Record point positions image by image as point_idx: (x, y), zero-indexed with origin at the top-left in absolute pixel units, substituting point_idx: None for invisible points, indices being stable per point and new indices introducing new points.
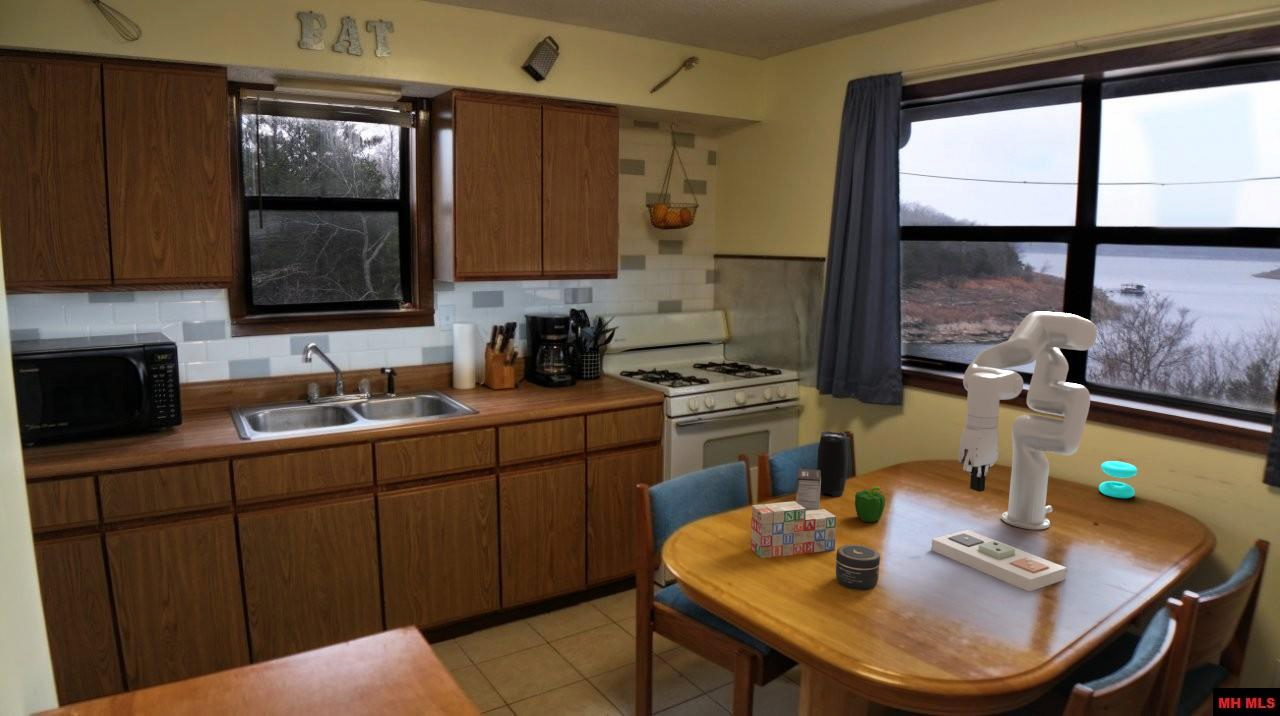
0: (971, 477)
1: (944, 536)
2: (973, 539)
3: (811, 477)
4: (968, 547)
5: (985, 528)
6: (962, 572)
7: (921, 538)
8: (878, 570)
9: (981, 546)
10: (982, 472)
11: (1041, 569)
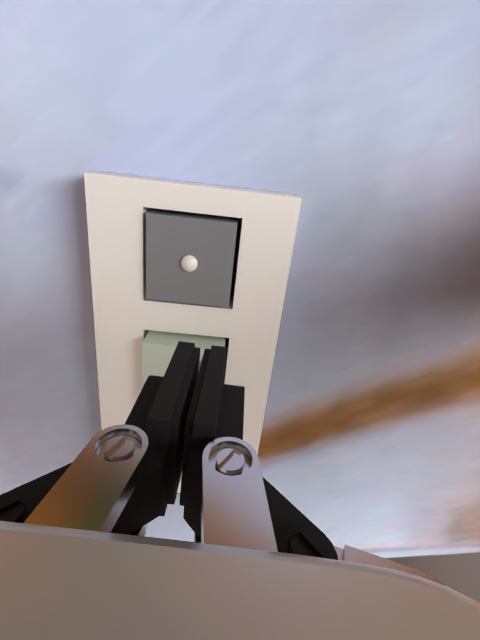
0: (157, 400)
1: (152, 187)
2: (210, 279)
3: None
4: (141, 301)
5: (476, 165)
6: (54, 332)
7: (161, 64)
8: None
9: (142, 351)
10: (195, 529)
11: (180, 480)
